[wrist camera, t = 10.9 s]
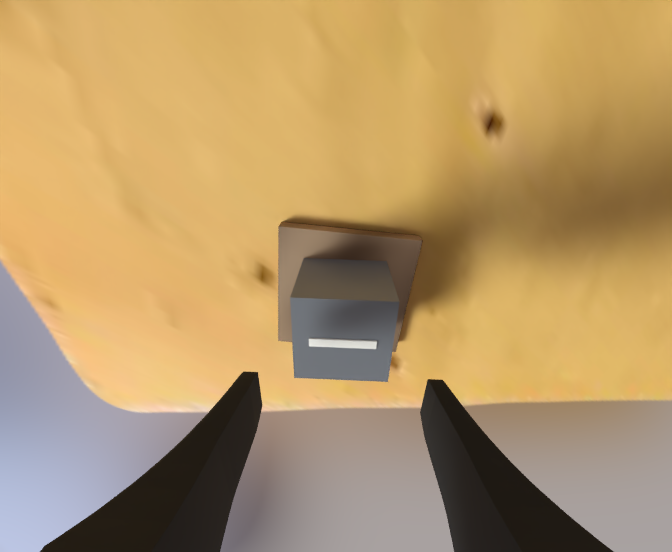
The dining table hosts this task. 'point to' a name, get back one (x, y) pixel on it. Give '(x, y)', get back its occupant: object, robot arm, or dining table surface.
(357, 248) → the base
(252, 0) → the dining table surface
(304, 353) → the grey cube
